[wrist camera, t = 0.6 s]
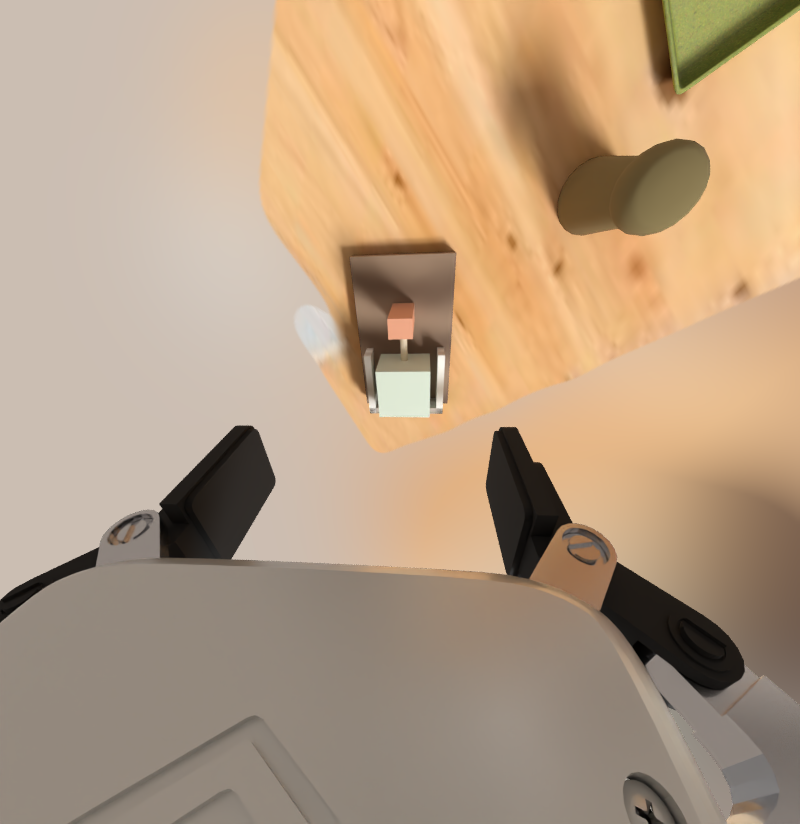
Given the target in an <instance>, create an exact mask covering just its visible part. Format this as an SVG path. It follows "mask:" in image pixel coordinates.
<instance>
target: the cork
mask: <svg viewBox="0 0 800 824" xmlns="http://www.w3.org/2000/svg"><path fill="white" fill-rule="evenodd" d="M709 176H710V160H709V157H708V155H707V153H706V151H705V149H704V147H702V146H701V145H700V144H698V143H697V142H695V141H691V140H683V139H674V140H670V141H667V142H663V143H660V144H657V145H655V146H653V147H651V148H650V149H648V150H646V151H645V152H643V153H641V154H640V155H639V156H600V157H596V158H592V159H590V160H588V161H586V162H585V163H583V164H582V165H580V166H579V167H578V168H577V169H576V170H575V171H574V172H573V173H572V174H571V175H570V176H569V178H568V179H567V181H566V183H565V184H564V186H563V188H562V190H561V193H560V196H559V199H558V209H557V213H558V217H559V221H560V223H561V225H562V226H563V228H564V229H565V230H566V231H568V232H570V233H571V234H574V235H587V234H592V233H597V232H603V231H608V230H613V229H620V230H621V231H623V232H624V233H626V234H630V235H639V236H645V235H650V234H654V233H658V232H661V231H663V230H665V229H667V228H669V227H671V226H673V225H674V224H676V223H677V222H678V221H679V220H681V219H682V218H683V217H684V216H685V215H687V214H688V213H689V212H690V210H691V209H692V208H693V207H694V206H695V204H696V203H697V202H698V201H699V199H700V198H701V196H702V194H703V192H704V190H705V188H706V186H707V183H708V179H709Z"/></svg>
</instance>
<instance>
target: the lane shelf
mask: <svg viewBox="0 0 800 824" xmlns="http://www.w3.org/2000/svg"><path fill="white" fill-rule="evenodd" d="M350 265H351V273H352V281H353V289H354V297H355V306H356V314H357V322H358V330H359V338H360V347H361V355H362V363H363V371H364V379H365V388H366V396H367V403H369V406H370V413H379V404H378V394H377V384H376V374H375V371H376V368H377V365H378V362H379V359H380V356H381V354H401V349H400V339H392V340H388V325H387V318H388V315H389V313H390V310H391V307H392V304H393V303H414V316H415V321H414V332H413V339H407V351H408V354H426V353H430V414H442V409H443V403H447V400H448V383H449V366H450V349H451V333H452V316H453V299H454V282H455V265H456V252H429V253H403V254H377V255H352V256H351V257H350Z"/></svg>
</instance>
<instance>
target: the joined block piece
mask: <svg viewBox="0 0 800 824" xmlns="http://www.w3.org/2000/svg"><path fill="white" fill-rule="evenodd" d="M414 321H415V316H414V303H393V304H392V307H391V310H390V313H389V315H388V318H387V325H388V340H392V339H400V349H401V354H381V356H380V359H379V362H378V365H377V368H376V371H375V374H376V384H377V394H378V404H379V415H380V417H430V353H426V354H408V351H407V339H413V332H414Z"/></svg>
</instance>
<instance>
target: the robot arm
mask: <svg viewBox="0 0 800 824" xmlns="http://www.w3.org/2000/svg"><path fill="white" fill-rule="evenodd" d="M274 486H275V476H274V473H273V470H272V468H271V465H270V462H269V459H268V457H267V454H266V451H265V449H264V446H263V443H262V440H261V437H260V435H259V432H258V431H257V430H256V429H254V427H253V426H235V427H234V428H233V429H232V430H231V431H230V432H229V433H228V434H227V435H226V436H225V437H224V438H223V439H222V440H221V441H220V442H219V443H218V444H217V445H216V446H215V447H214V448H213V449H212V450H211V451H210V452H209V453H208V454H207V456H206V457H205V458H204V459H203V460H202V461H201V462H200V463H199V464H198V465H197V466H196V467H195V468H194V469H193V470H192V471H191V472H190V473H189V474H188V475H187V476H186V477H185V478H184V479H183V480H182V481H181V482H180V483H179V484H178V485H177V486H176V487H175V488H174V489H173V490H172V491H171V492H170V493H169V494H168V495H167V496H166V498H165V499H163V500H162V502H161V503H160V506H161V507H162V510H161V511H160V512H159V513H158V512H156V511H154V510H143V511H139V512H136V513H133V514H130V515H128V516H126V517H124V518H123V519H121V520H119V521H118V522H117V523H115V524H114V525H113V526H111V528H109V529H108V530H107V531H106V533H105V534H104V535H103V537H102V539H101V541H100V546H99V547H98V548H96V549H94V550H92V551H90V552H88V553H86V554H84V555H81V556H80V557H77V558H75V559H73V560H71V561H69V562H67V563H65V564H62V565H61V566H58V567H56V568H54V569H52V570H50V571H48V572H46V573H43V574H41V575H39V576H37V577H35V578H33V579H31V580H29V581H27V582H25V583H24V584H22V585H19V586H18V587H16V588H14V589H13V590H11V591H10V592H9V593H8V594H6V595H5V596H4V597H3V598H2V599H1V600H0V824H800V705H799V704H798V703H796V702H795V701H794V700H793V699H792V698H790V697H789V696H788V695H787V694H786V693H785V692H783V691H782V690H781V689H780V688H779V687H777V686H776V685H775V684H774V683H773V682H772V681H770V680H769V679H768V678H767V677H766V676H765V675H764V676H762V677H761V678H759V677H757V676H756V675H755V674H754V673H753V672H752V671H751V670H749V669H748V668H747V667H746V666H745V665H744V660H743V658H742V656H741V654H740V652H739V650H738V648H737V647H736V645H735V644H734V643H733V641H732V640H731V639H730V637H729V636H728V635H727V634H726V633H725V632H724V631H723V630H722V629H721V628H720V627H718V626H717V625H716V624H715V623H713V622H712V621H711V620H709V619H708V618H706V617H705V616H704V615H702V614H700V613H699V612H697V611H695V610H694V609H692V608H691V607H689V606H687V605H686V604H684V603H683V602H681V601H679V600H678V599H676V598H674V597H673V596H671V595H670V594H668V593H666V592H665V591H663V590H661V589H659V588H658V587H657V586H655V585H654V584H652V583H650V582H649V581H647V580H645V579H644V578H642V577H640V576H639V575H637V574H636V573H634V572H632V571H631V570H629V569H628V568H626V567H624V566H623V565H621V564H620V563H618V562H617V554H616V552H615V549H614V547H613V546H612V544H611V543H610V541H609V540H608V539H606V538H605V537H604V536H603V535H602V534H601V533H599V532H598V531H596V530H594V529H593V528H590V527H588V526H585V525H582V524H577V523H572V521H571V519H570V517H569V515H568V513H567V511H566V509H565V507H564V505H563V504H562V501H561V499H560V498H559V496H558V494H557V492H556V490H555V488H554V486H553V484H552V482H551V480H550V478H549V476H548V474H547V472H546V470H545V468H544V467H543V465H542V464H541V463H538V462H533V460H532V458H531V456H530V454H529V452H528V450H527V448H526V446H525V444H524V442H523V439H522V437H521V435H520V434H519V431H518V429H517V428H516V427H500V429H499V431H495V432H494V436H493V442H492V449H491V455H490V461H489V468H488V474H487V480H486V491H487V496H488V499H489V504H490V508H491V512H492V516H493V520H494V524H495V528H496V532H497V537H498V541H499V545H500V549H501V553H502V557H503V562H504V565H505V570H506V573H507V575H502V574H494V573H485V572H472V571H458V570H443V569H427V568H406V567H387V566H367V565H346V564H325V563H302V562H280V561H256V560H231V559H232V557H233V555H234V554H235V552H236V550H237V549H238V547H239V545H240V544H241V542H242V540H243V538H244V537H245V535H246V533H247V532H248V530H249V528H250V527H251V525H252V523H253V521H254V520H255V518H256V516H257V515H258V513H259V511H260V510H261V508H262V506H263V504H264V503H265V501H266V500H267V498H268V496H269V494H270V493H271V491H272V489H273V488H274ZM668 707H669V708H671V709H674V710H676V711H677V712H678V713H679V714H680V715H681V716H682V717H683V719H684V720H686V722H687V723H688V724H689V725H690V726H691V727H692V728H693V730H694V732H693V733H692V735H693V736H694V737H695V738H696V739H697V740H698V742H699V743H700V744H701V745H702V746H703V747H704V748H705V749H706V751H707V752H708V753H709V754H710V756H711V757H712V758H713V760H714V761H715V762H716V764H717V765H718V766H719V768H720V769H721V771H722V773H723V775H724V777H725V779H726V781H727V783H728V785H729V787H730V792H731V797H732V803H733V805H732V809H731V812H730V815H729V817H728V818H727V820H725V818H724V816H723V814H722V812H721V810H720V808H719V805H718V804H717V802H716V800H715V798H714V796H713V794H712V792H711V790H710V788H709V786H708V784H707V782H706V780H705V778H704V776H703V774H702V772H701V770H700V768H699V766H698V764H697V762H696V761H695V758H694V756H693V754H692V753H691V751H690V749H689V747H688V745H687V743H686V741H685V739H684V737H683V735H682V733H681V731H680V729H679V727H678V725H677V723H676V722H675V720H674V718H673V716H672V714H671V712H670V711H669V709H668ZM626 778H628V779H630V780H626V781H625V779H626ZM650 806H651V808H652V811H651V809H650Z"/></svg>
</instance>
